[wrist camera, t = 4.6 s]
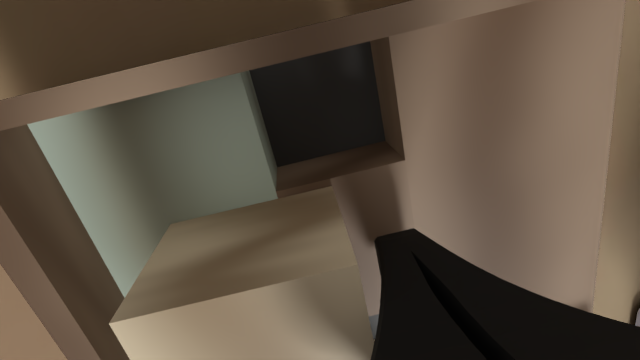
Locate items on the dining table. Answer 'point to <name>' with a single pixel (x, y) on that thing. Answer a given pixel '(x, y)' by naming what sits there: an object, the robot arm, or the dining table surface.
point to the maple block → (251, 288)
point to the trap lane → (324, 150)
